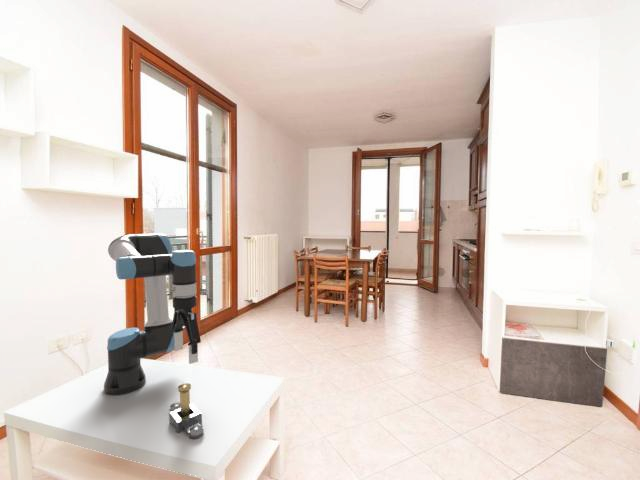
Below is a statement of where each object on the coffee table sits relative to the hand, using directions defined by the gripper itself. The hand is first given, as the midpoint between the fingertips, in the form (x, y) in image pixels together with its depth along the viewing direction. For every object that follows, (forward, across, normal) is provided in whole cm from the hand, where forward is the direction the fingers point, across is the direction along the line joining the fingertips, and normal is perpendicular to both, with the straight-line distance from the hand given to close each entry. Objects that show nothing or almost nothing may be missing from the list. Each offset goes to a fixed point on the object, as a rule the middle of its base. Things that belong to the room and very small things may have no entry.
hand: (185, 355), depth 111 cm
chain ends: (+23, +1, -1) cm, 23 cm away
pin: (+23, +2, -1) cm, 23 cm away
